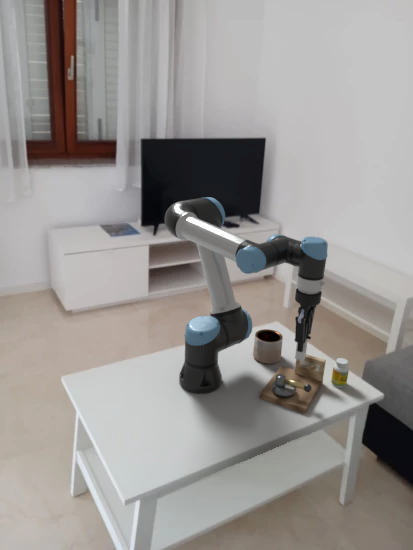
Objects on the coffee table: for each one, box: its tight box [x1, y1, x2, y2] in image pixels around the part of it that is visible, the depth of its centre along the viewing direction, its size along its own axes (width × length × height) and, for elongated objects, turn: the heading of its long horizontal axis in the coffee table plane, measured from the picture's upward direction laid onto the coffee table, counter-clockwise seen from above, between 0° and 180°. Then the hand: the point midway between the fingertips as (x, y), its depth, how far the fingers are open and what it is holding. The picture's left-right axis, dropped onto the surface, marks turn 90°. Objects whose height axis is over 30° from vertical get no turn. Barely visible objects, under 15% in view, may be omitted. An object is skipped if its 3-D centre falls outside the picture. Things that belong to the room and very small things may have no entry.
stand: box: [259, 353, 326, 414], centre depth 164 cm, size 16×20×10 cm
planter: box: [252, 328, 284, 365], centre depth 184 cm, size 11×11×10 cm
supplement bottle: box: [330, 357, 350, 389], centre depth 169 cm, size 5×5×10 cm
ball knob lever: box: [272, 374, 312, 398], centre depth 159 cm, size 13×8×6 cm, turn 61°
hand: (300, 358), depth 149 cm, fingers closed
